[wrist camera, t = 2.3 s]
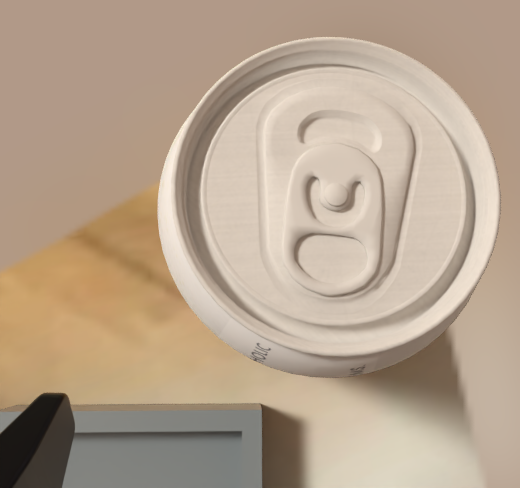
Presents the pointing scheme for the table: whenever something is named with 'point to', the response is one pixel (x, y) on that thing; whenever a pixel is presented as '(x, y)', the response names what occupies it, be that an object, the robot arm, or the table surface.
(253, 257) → the beer can
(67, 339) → the table surface
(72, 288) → the table surface
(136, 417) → the tray
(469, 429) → the table surface
